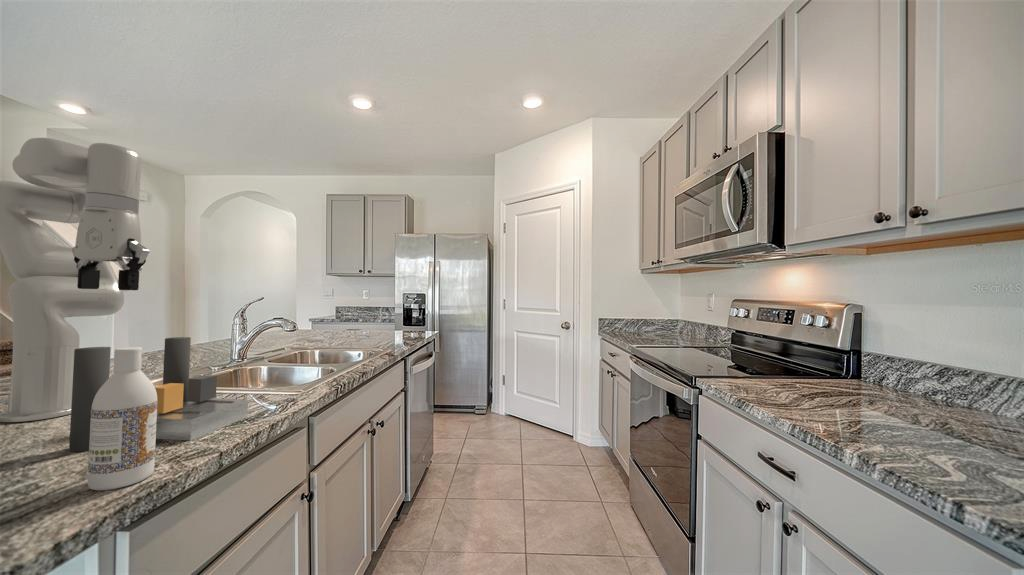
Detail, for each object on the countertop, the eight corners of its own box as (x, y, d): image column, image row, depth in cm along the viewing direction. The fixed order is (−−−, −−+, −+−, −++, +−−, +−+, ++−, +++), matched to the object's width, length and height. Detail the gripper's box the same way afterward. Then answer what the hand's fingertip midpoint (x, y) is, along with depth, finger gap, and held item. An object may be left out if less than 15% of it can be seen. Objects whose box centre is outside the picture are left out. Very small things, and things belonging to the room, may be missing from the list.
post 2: (155, 419, 82) (159, 338, 83) (174, 413, 86) (178, 336, 87) (173, 420, 82) (177, 339, 82) (192, 414, 86) (195, 337, 87)
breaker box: (133, 437, 72) (134, 415, 72) (198, 414, 86) (199, 396, 86) (190, 440, 71) (191, 418, 71) (247, 417, 85) (248, 398, 85)
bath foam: (143, 485, 54) (150, 350, 55) (76, 496, 51) (83, 352, 52) (161, 466, 60) (166, 344, 61) (101, 475, 57) (108, 346, 58)
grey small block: (187, 401, 81) (188, 378, 81) (203, 396, 85) (204, 375, 85) (200, 402, 81) (201, 379, 81) (215, 397, 85) (216, 375, 85)
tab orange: (149, 412, 73) (150, 387, 73) (169, 406, 77) (170, 383, 77) (163, 413, 73) (164, 388, 73) (182, 407, 77) (183, 383, 77)
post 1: (61, 451, 65) (66, 349, 66) (91, 441, 69) (96, 346, 70) (84, 452, 65) (89, 350, 65) (112, 443, 69) (117, 347, 70)
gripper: (53, 202, 73) (48, 288, 73) (126, 201, 71) (122, 290, 71) (100, 211, 81) (96, 288, 80) (168, 210, 78) (164, 290, 78)
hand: (108, 289), depth 75 cm, fingers open, 9 cm apart
